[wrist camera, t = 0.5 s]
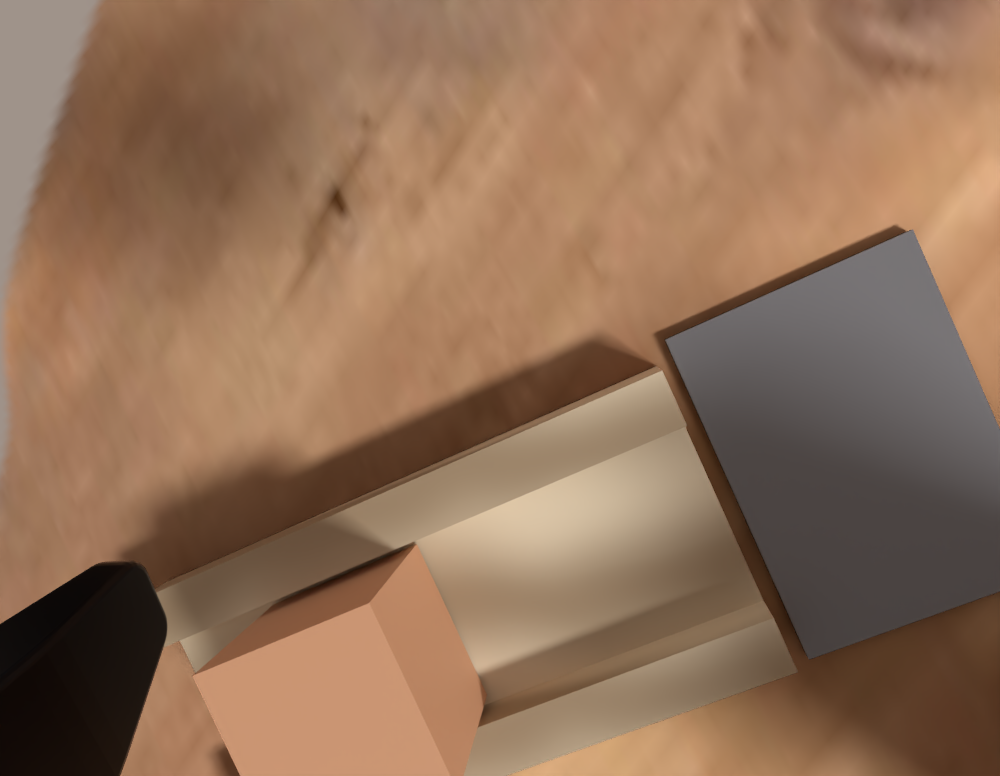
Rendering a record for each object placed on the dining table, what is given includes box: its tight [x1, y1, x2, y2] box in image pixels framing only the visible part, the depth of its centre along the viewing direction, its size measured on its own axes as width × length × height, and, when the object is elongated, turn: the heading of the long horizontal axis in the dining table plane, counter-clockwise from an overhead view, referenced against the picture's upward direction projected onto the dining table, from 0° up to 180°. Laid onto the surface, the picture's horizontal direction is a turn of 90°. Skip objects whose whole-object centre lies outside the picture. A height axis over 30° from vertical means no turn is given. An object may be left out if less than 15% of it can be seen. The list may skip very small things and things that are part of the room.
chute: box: [155, 366, 798, 776], centre depth 21 cm, size 9×17×2 cm, turn 115°
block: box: [193, 544, 487, 776], centre depth 20 cm, size 5×5×4 cm
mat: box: [665, 230, 1000, 659], centre depth 20 cm, size 10×7×1 cm
